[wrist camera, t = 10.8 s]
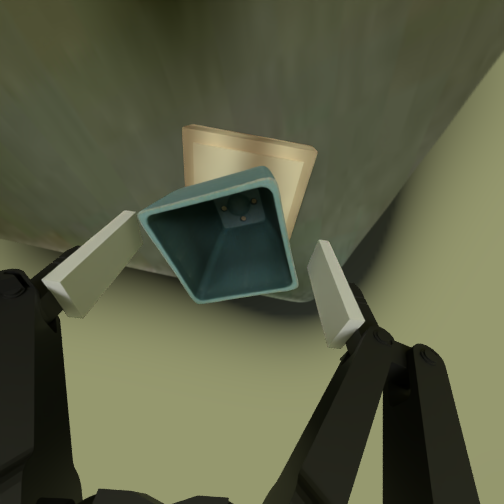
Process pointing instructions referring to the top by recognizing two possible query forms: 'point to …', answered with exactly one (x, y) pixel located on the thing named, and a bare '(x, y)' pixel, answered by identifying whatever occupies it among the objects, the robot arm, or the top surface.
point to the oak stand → (248, 162)
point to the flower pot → (225, 236)
